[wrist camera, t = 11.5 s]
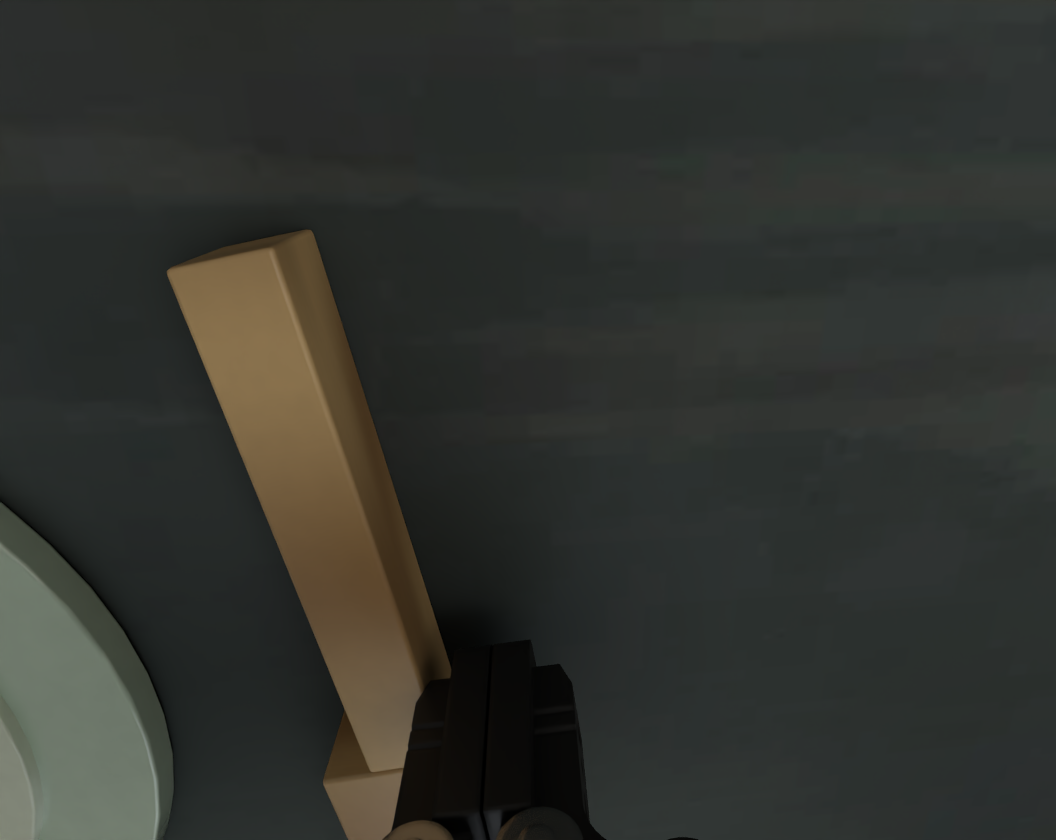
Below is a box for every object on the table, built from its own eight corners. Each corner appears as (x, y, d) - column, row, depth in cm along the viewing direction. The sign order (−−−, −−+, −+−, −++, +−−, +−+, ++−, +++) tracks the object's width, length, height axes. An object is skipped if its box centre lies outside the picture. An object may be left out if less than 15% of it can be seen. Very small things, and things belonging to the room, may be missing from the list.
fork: (163, 259, 11) (94, 283, 9) (372, 214, 11) (342, 230, 9) (424, 900, 18) (413, 989, 16) (559, 881, 18) (564, 969, 16)
